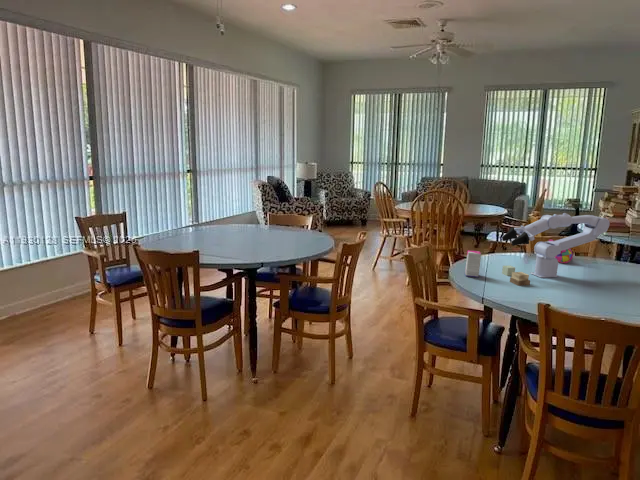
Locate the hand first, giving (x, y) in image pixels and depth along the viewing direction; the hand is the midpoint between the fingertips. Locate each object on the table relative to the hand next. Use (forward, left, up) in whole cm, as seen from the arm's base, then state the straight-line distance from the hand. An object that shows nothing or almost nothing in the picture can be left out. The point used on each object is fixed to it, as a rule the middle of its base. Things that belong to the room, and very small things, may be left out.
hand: (507, 241), depth 228 cm
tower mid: (0, +12, -15) cm, 19 cm away
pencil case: (-52, -27, -17) cm, 61 cm away
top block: (-4, -2, -17) cm, 18 cm away
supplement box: (+15, -3, -17) cm, 23 cm away
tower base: (0, +12, -17) cm, 21 cm away
